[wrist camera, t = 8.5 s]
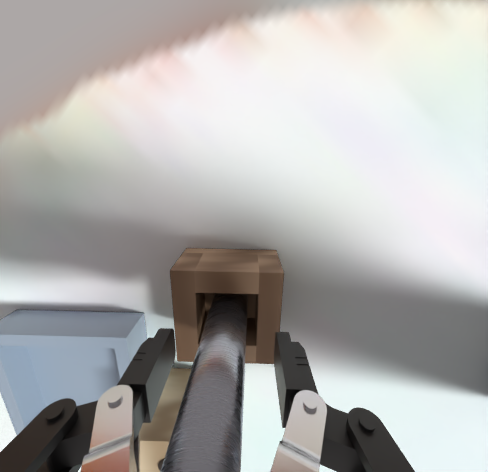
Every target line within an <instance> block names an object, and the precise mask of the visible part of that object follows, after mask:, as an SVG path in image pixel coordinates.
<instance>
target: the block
mask: <svg viewBox="0 0 488 472" xmlns="http://www.w3.org/2000/svg"><path fill="white" fill-rule="evenodd" d="M190 373H191V369H183V368H171V371H170V374H169V376H168V379H167V381H166V384H165V387H164V389H163V392H162V395H161V397H160V400H159V403H158V405H157V408H156V411H155V413H154V416H153V419H152V421H151V423H143V424H142V427H141V429H140V432H139V435H140V472H160V471H161V468H162V465H163V461H164V458H165V455H166V452H167V448H168V445H169V442H170V438H171V435H172V432H173V429H174V425H175V422H176V419H177V415H178V412H179V409H180V405H181V402H182V399H183V396H184V392H185V389H186V386H187V382H188V379H189V376H190Z"/></svg>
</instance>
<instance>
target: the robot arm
mask: <svg viewBox="0 0 488 472" xmlns="http://www.w3.org/2000/svg"><path fill="white" fill-rule="evenodd" d="M174 359H175V339H174V330H173V329H164V328H160V329H159V330H158V332H157V333H156V335H155V337H154V338H148V339H147V340H146V341H145V342H143V343H142V344H141V346H140V347H139V349H138V351H137V352H136V354H135V356H134V357H133V360H132V361H131V362H130V364H129V366H128V367H127V369H126V371H125V372H124V374H123V376H122V377H121V379H120V381H119V382H118V384H117V386H115V387H112V388H110V389H109V390H107V391H106V392H105V393H104V394H103V395H102V396H101V397H100V399H99V400H97V401H94V402H90V403H87V404H83V405H79V406H76V402H75V401H74V400H73V399H70V398H65V399H60V400H58V401H55V402H53V403H51V404H50V405H48V406H47V407H46V408H44V409H43V410H42V411H41V412H40V413H39V414H38V415H37V416H36V417H35V418H34V419H33V420H32V421H31V422H30V423H29V424H28V425H27V426H26V427H25V428H24V429H23V430H22V431H21V432H20V433H19V434H18V435H17V436H16V437H15V438H14V439H13V440H12V441H11V442H10V443H9V444H8V445H7V446H6V447H5V448H4V449H3V450H2V451H1V452H0V472H78V470H79V469H80V467H81V466H82V467H81V472H140V435H139V432H140V429H141V427H142V424H143V423H151V421H152V419H153V416H154V413H155V411H156V408H157V405H158V403H159V400H160V397H161V395H162V392H163V389H164V387H165V384H166V381H167V379H168V376H169V374H170V371H171V368H172V366H173V363H174ZM274 367H275V374H276V382H277V389H278V397H279V405H280V412H281V420H282V427H283V428H285V432H284V435H283V439H282V441H280V443H279V445H278V448H277V452H276V455H275V458H274V462H273V465H272V468H271V472H319V467H320V464H321V465H323V466H325V467H328V468H330V469H332V470H334V471H337V472H415V471H414V470H413V468H412V467H411V465H410V464H409V462H408V461H407V459H406V458H405V456H404V455H403V453H402V452H401V450H400V449H399V447H398V446H397V444H396V443H395V441H394V440H393V438H392V437H391V435H390V434H389V432H388V431H387V429H386V428H385V426H384V425H383V423H382V422H381V420H380V419H379V418H378V417H377V416H376V415H375V414H373V413H372V412H370V411H369V410H366V409H363V408H354V409H352V410H351V411H350V412H349V414H348V413H345V412H342V411H339V410H336V409H334V408H332V407H330V406H329V405H327V404H326V403H325V402H324V400H323V399H322V398H321V397H320V396H319V394H318V392H317V389H316V386H315V382H314V379H313V376H312V373H311V369H310V366H309V363H308V360H307V356H306V353H305V350H304V348H303V347H302V346H301V345H300V343H299V342H291V339H290V335H289V332H276V333H275V345H274Z"/></svg>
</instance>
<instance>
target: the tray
mask: <svg viewBox="0 0 488 472" xmlns="http://www.w3.org/2000/svg"><path fill="white" fill-rule="evenodd" d="M146 340H147V334H146V326H145V318H144V313H129V312H90V311H51V310H15V311H14V312H12V313H11V314H9V315H7V316H6V317H4V318H3V319H1V320H0V392H1V395H2V398H3V400H4V403H5V406H6V408H7V411H8V413H9V416H10V419H11V421H12V424H13V426H14V429H15V432H16V434H17V435H18V434H19V433H20V432H21V431H22V430H23V429H24V428H25V427H26V426H27V425H28V424H29V423H30V422H31V421H32V420H33V419H34V418H35V417H36V416H37V415H38V414H39V413H40V412H41V411H42V410H43V409H44V408H46V407H47V406H48V405H50V404H51V403H53V402H55V401H58V400H60V399H65V398H70V399H73V400H74V401H75V402H76V406H79V405H83V404H87V403H90V402H94V401H97V400H99V399H100V397H101V396H102V395H103V394H104V393H105V392H106V391H107V390H109V389H110V388H112V387H115V386H117V384H118V382H119V381H120V379H121V377H122V376H123V374H124V372H125V371H126V369H127V367H128V366H129V364H130V362H131V361H132V360H133V357H134V356H135V354H136V352H137V351H138V349H139V347H140V346H141V344H142V343H143V342H145V341H146Z"/></svg>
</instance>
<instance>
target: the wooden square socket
mask: <svg viewBox="0 0 488 472" xmlns="http://www.w3.org/2000/svg"><path fill="white" fill-rule="evenodd" d="M170 278H171V290H172V302H173V314H174V326H175V338H176V350H177V361H186V362H194V359H195V356H196V353H197V349H198V346H199V343H200V340H201V336H202V333H203V330H204V326H205V323H206V320H207V317H208V313H209V310H210V307H211V303H212V300H213V297H214V293H231V294H248V307H247V330H246V354H245V363H259V364H274V345H275V333H276V332H280V319H281V306H282V293H283V280H284V272H283V269H282V266H281V263H280V260H279V257H278V254H277V251H276V250H248V249H203V248H186V249H185V251H184V252H183V253H182V255H181V256H180V257H179V259H178V260H177V262H176V263H175V264H174V266H173V267H172V268H171V270H170Z"/></svg>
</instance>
